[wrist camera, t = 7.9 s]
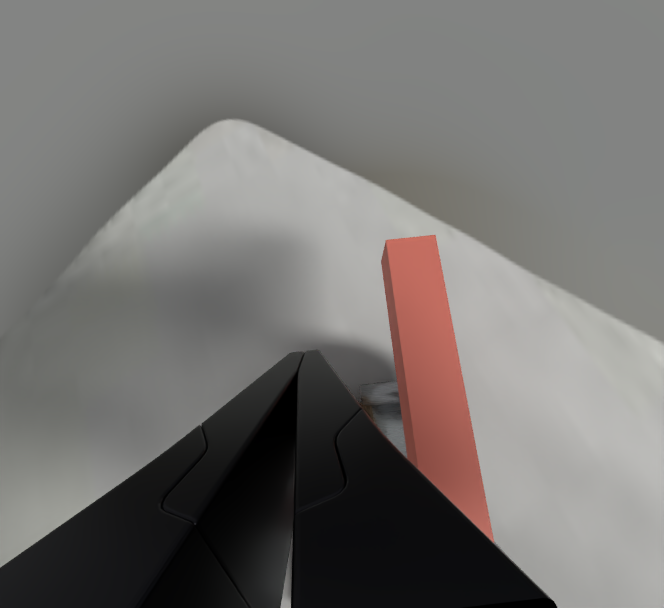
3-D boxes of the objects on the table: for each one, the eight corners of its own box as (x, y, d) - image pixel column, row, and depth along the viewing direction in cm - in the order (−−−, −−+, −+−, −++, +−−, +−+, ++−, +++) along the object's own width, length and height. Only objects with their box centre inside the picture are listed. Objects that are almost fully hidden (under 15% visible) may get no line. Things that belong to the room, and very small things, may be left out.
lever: (406, 620, 10) (423, 693, 8) (364, 264, 13) (367, 239, 11) (506, 616, 10) (554, 688, 7) (438, 257, 13) (456, 230, 11)
